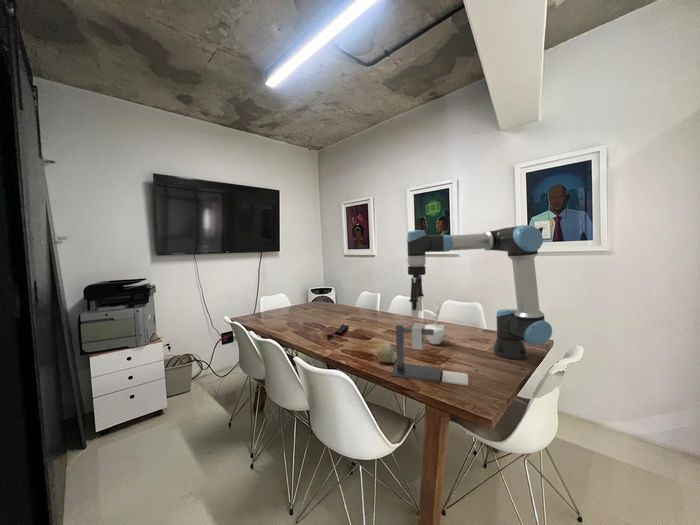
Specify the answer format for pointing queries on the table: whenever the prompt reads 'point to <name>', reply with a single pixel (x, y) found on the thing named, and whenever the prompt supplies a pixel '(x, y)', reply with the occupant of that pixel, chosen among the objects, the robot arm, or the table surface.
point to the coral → (386, 353)
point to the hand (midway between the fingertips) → (417, 314)
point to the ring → (417, 336)
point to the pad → (455, 378)
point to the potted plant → (435, 328)
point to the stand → (409, 369)
